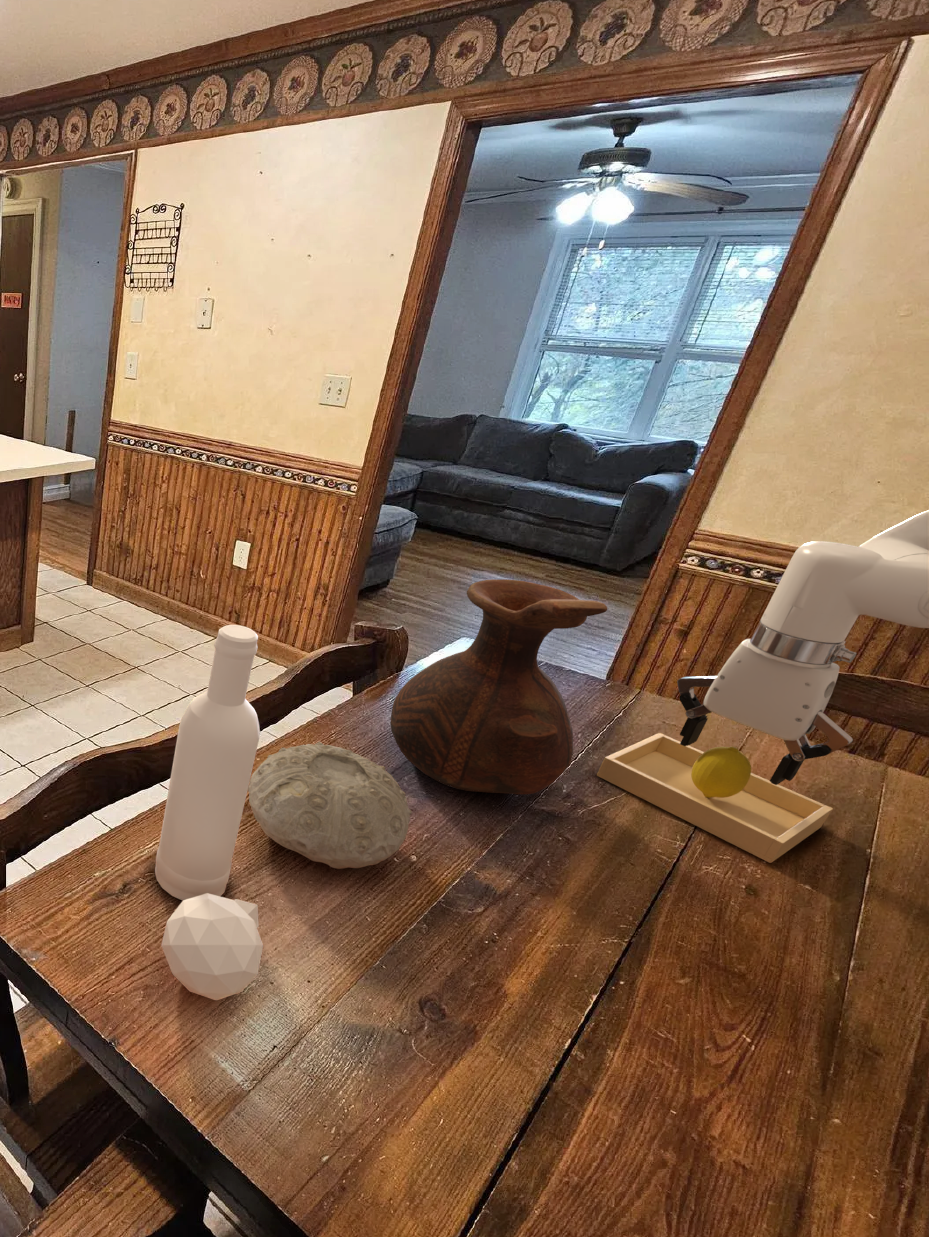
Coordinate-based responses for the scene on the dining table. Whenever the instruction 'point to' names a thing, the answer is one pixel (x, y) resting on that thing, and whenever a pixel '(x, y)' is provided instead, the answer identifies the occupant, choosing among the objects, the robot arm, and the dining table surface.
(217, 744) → the bottle
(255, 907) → the cream faceted rounded solid
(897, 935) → the dining table surface
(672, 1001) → the dining table surface
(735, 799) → the tray
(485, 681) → the jug
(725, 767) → the lemon
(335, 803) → the decorative shell
